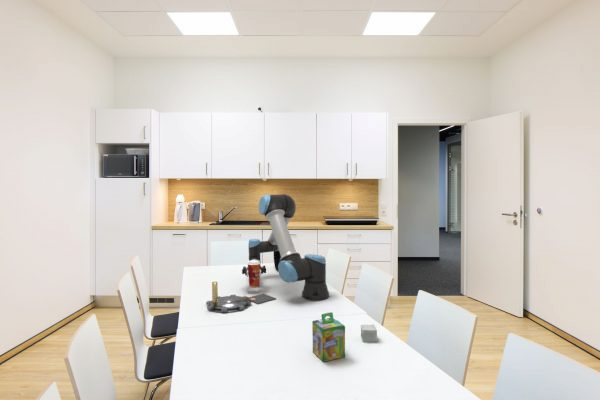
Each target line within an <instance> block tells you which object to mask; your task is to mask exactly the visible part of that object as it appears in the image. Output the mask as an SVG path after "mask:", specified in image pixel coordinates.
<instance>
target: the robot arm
mask: <svg viewBox="0 0 600 400" xmlns="http://www.w3.org/2000/svg"><path fill="white" fill-rule="evenodd" d="M296 207H297V205H296V201H295V200H294V198H293V197H292V196H291V195H288V194H286V193H283V194H280V193H279V194H264V195H262V196H261V197H260V199H259V202H258V212H259V214H260V215H262V216H265V220H266V221H269V223H270V227H271V233H270V234H269V237H268V240H262V241H261V239H259V238H252V239H249V240H248V245H247V247H248V261H252V260H258V261H260V263H261V262H262V261H261V254H262V253H272V252H273V253H274V252H275V251H279V252H280V255H281V259H280V263H279V265H278V271H277V272H278V275H279V277H280V279H281V280H282V281H283V282H285V283H288V284H289V283H296V282H302V281H304V285H303V289H302V291H301V297H302V298H303V299H304V300H307V301H308V300H309V301H323V300H327V299H329V298H330V291H329V290H328V286H327V282H326V281H327V276H326V275H327V273H326V272H327V271H326V270H327V268H326V267H327V263H326V258H325V256H323V255H319V254H310V253H308V254H304V257H302V256H301V254H300V253H299V252H297V251H296V248H295V245H294V243H293V239H292V237H291V234H290V231H289V227H288V225H289V223H290V220H291V219H292V218H294V216H295V215H296V214H295V213H296V211H297V208H296ZM241 274H242V275H244V276H246V278H249V274H248V266H243V267H242V269H241ZM263 274H267V268H266V265H260V277H262V275H263Z"/></svg>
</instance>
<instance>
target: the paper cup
mask: <svg viewBox="0 0 600 400" xmlns="http://www.w3.org/2000/svg"><path fill="white" fill-rule="evenodd" d="M260 261H261V260H260ZM260 261H258V260H252V261H249V260H248V261H247V267H248V283H249V287H252V288H253V287H254V288H256V287H259V286H260V277H261V276H260V266H261V263H260Z"/></svg>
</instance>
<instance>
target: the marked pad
mask: <svg viewBox="0 0 600 400" xmlns="http://www.w3.org/2000/svg"><path fill="white" fill-rule="evenodd" d="M248 297H249V299H248V300H252V303H254V304H257V305H262V304H264V303H268V302H271V301H276V300H277V297H274V296H272V295H269V294H265V293H261V294H256V295H252V296H248Z"/></svg>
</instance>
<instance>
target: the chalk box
mask: <svg viewBox="0 0 600 400" xmlns="http://www.w3.org/2000/svg"><path fill="white" fill-rule="evenodd" d="M333 313H334V312H326V313H322V314H321V319H315V320H313V321H311V322H312V323H311V324H312V327H311V328H312V330H311V331H312V333H311V334H312V353H314V354H315V355H316V356H317V357H318V358H319V359H320V360H321V361H322V362H323V363H324V362H328V361H333V360H337V359H342V358H346V326H345V325H344V324H343V323H341V322H340V321H339V320H338V319H335V318H334V314H333ZM326 317H327V318H326Z"/></svg>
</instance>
